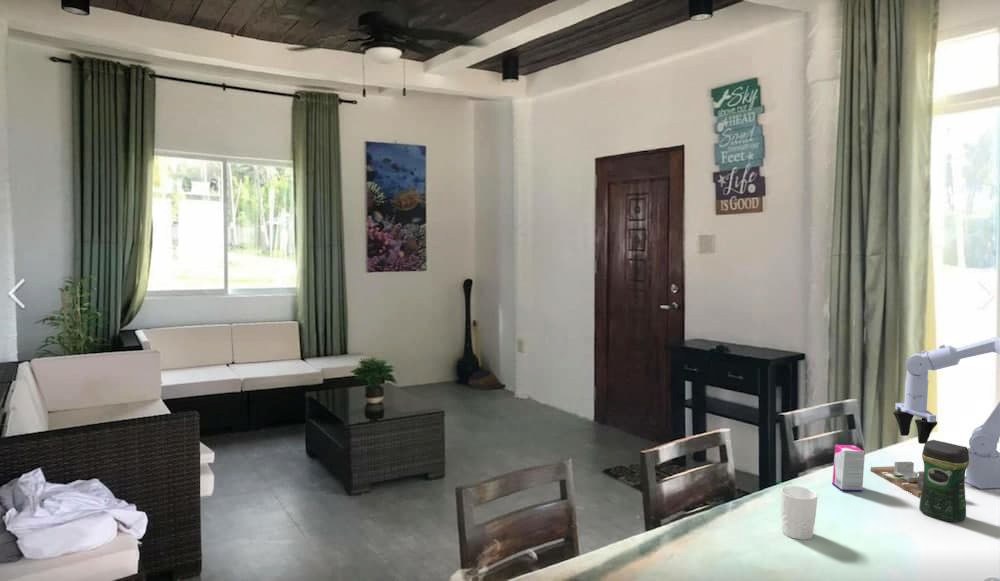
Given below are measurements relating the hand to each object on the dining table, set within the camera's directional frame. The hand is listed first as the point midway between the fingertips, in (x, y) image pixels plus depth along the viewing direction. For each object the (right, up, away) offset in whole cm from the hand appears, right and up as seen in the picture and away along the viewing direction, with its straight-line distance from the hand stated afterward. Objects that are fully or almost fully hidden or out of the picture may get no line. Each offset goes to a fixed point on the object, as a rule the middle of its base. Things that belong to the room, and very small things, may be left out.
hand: (913, 439), depth 201 cm
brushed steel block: (-8, -9, -11) cm, 16 cm away
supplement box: (-27, -11, -14) cm, 32 cm away
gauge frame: (-7, -10, -10) cm, 16 cm away
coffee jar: (-12, -12, -31) cm, 36 cm away
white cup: (-53, -13, -42) cm, 69 cm away
